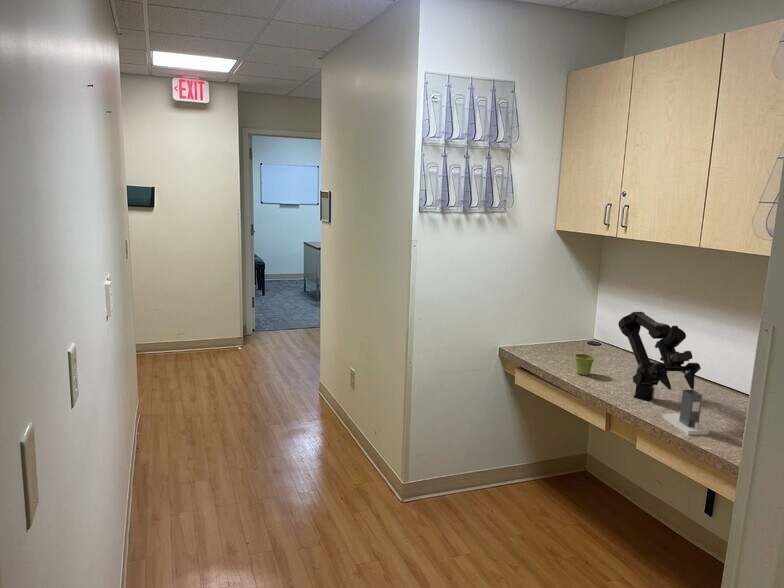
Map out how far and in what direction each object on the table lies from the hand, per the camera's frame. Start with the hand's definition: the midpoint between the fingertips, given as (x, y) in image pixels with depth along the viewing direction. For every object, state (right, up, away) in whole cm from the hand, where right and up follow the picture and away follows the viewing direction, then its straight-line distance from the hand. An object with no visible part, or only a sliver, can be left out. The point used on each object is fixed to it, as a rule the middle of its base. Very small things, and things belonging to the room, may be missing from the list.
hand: (681, 389), depth 219 cm
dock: (0, -13, -2) cm, 14 cm away
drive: (0, -12, -4) cm, 13 cm away
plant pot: (-19, -2, +56) cm, 59 cm away
